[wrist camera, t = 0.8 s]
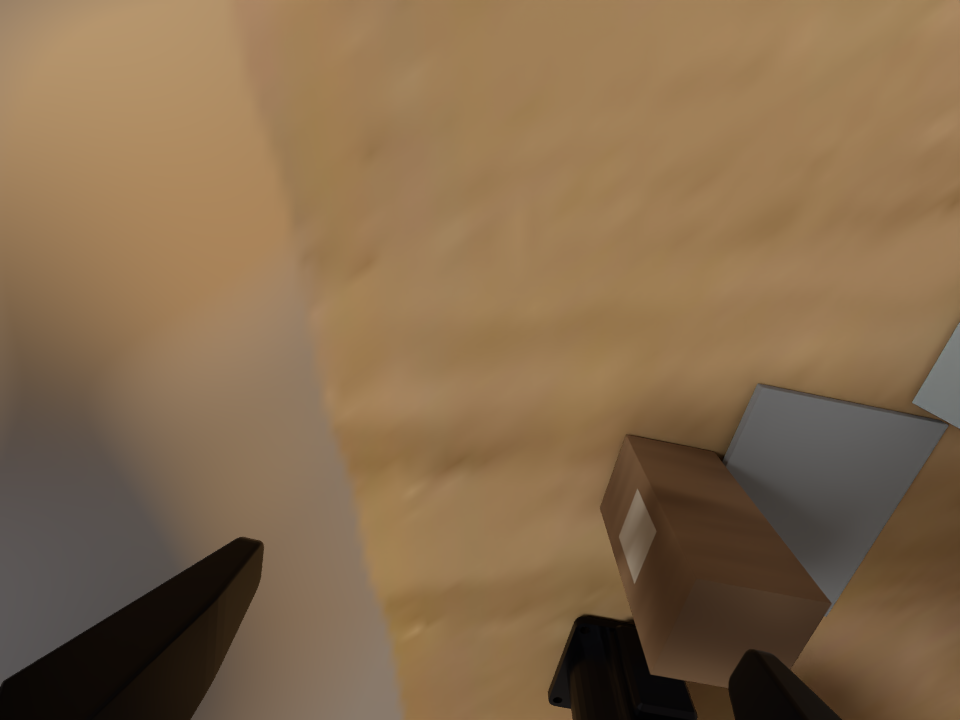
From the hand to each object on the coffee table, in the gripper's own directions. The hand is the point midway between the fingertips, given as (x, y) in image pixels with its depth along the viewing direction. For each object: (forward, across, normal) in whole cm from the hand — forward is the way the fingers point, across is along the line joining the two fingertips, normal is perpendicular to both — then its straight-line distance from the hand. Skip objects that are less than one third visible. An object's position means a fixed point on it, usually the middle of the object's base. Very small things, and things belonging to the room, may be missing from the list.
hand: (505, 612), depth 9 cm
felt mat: (+12, -15, +3) cm, 19 cm away
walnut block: (+12, -8, +4) cm, 15 cm away
